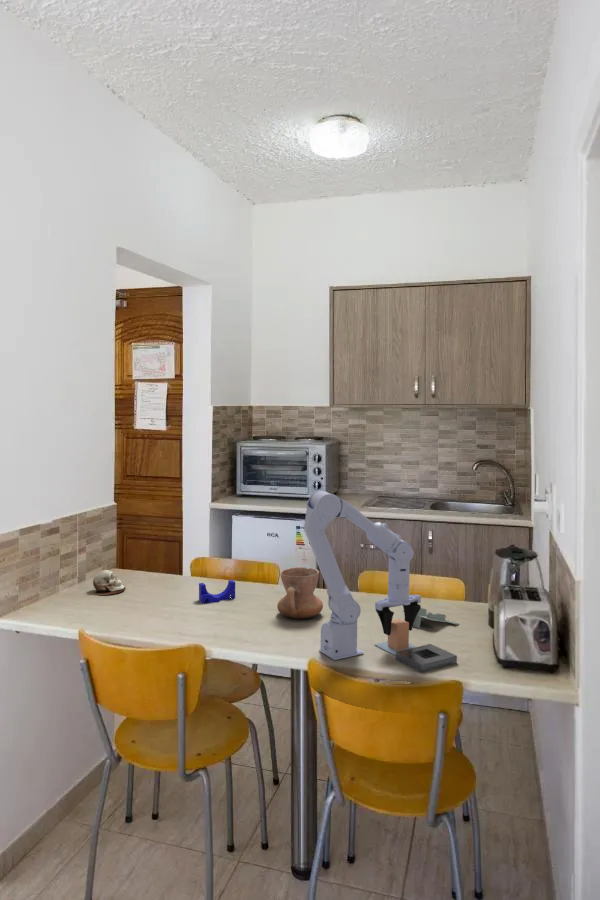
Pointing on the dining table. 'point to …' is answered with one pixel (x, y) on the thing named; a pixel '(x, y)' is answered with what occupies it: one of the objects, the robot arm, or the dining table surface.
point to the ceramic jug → (300, 593)
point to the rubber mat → (391, 650)
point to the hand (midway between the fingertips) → (397, 631)
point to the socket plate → (434, 661)
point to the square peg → (399, 634)
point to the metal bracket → (430, 617)
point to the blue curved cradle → (209, 598)
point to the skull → (107, 583)
